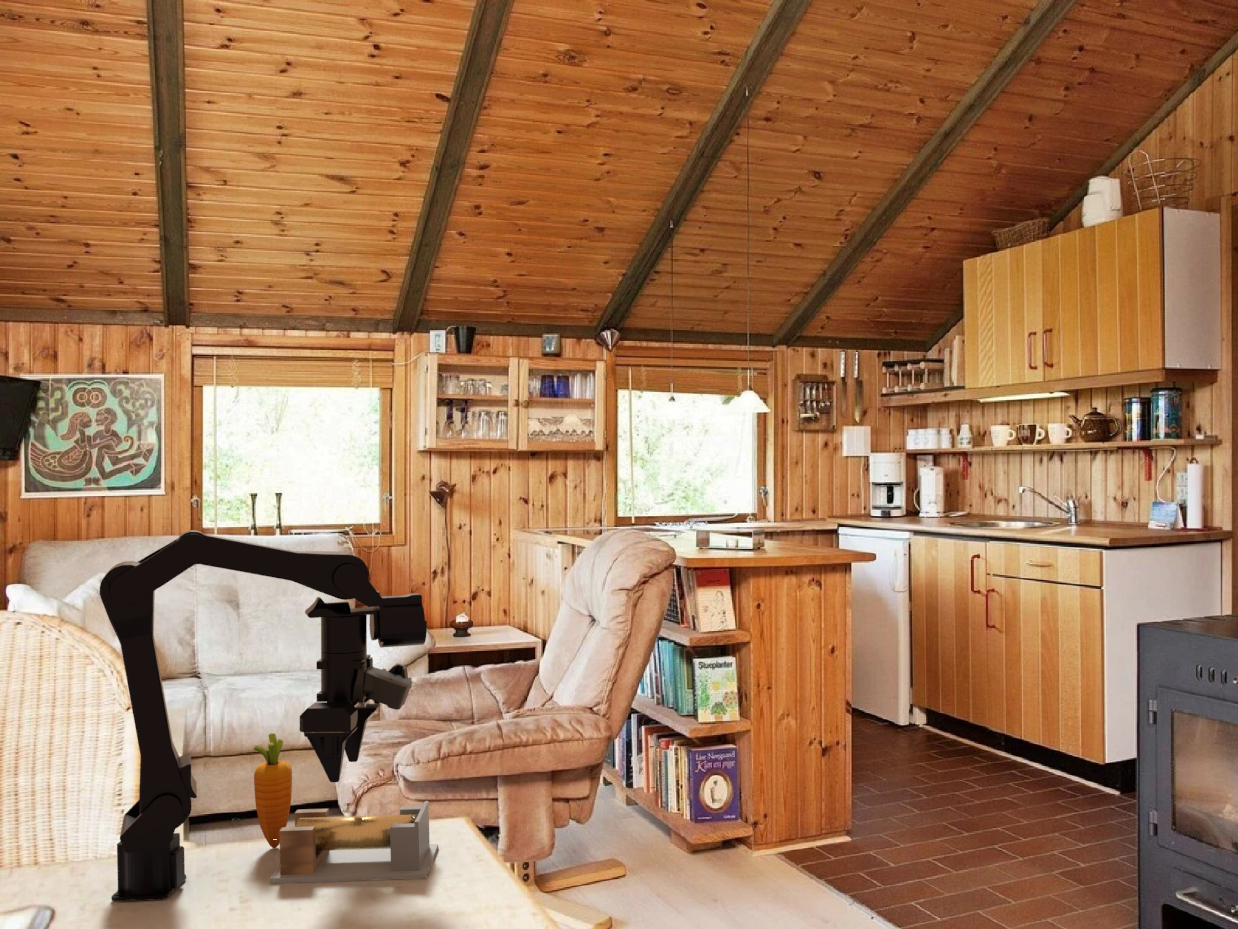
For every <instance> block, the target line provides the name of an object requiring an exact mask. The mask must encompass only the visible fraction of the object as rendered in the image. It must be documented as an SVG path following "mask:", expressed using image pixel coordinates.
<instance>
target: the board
mask: <svg viewBox="0 0 1238 929" xmlns="http://www.w3.org/2000/svg"><path fill="white" fill-rule="evenodd" d="M429 845H430V847H429V849H428V852H427V854H426V856H425V859H424V861H423V864H422V866H421V868H420V871H391V849H361V850H329V851H328V853H327V854H326V856H325V857H324V859H323V860H322V862H321V863H320V865H319V866H318V868H317V869H316V871H315V872H314V873H313V874H296V875H280V865H279V866H278V867H277V868H276V869H275V871H274V872H273V874H272V875H271V876H270V877H269V884H289V883H291V884H292V883H293V884H294V883H295V884H296V883H319V882H320V883H325V882H326V883H327V882H351V881H352V882H357V881H385V880H386V881H387V880H388V881H389V880H391V881H392V880H413V879H414V880H416V879H417V880H419V879H428V876H429V873H430V872H431V868H432V865H433V863H434V861H435V858H436V856H437V853H438V850H439V843H429Z"/></svg>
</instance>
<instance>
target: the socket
mask: <svg viewBox="0 0 1238 929" xmlns="http://www.w3.org/2000/svg"><path fill="white" fill-rule="evenodd" d="M429 806H430V804H429V800H425V801H424V802H423V804H422V805H408V806H407V805H406V806H403V805H402V806H401V807H400V808H399V815H415V814H418V816H417V818H416V820H415V822H414V823H406V824H392V825H391V827H390V849H391V871H420V868H421V866H422V864H423V861H424V859H425V856H426V854H427V852H428V849H429V847H430V845H429V844H430V810H429V809H430V807H429Z"/></svg>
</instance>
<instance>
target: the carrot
mask: <svg viewBox="0 0 1238 929" xmlns="http://www.w3.org/2000/svg"><path fill="white" fill-rule="evenodd" d="M267 737H268V740H269V743H268V748H266V750H265V748H264V747H263V746H260V745H257V744H256V745H254V746H253V751H256V752H259V753H260V754H261V755H262V756H263V757H264V760H265V761H264V762H262V763H260V764H258V765H257V767H256V768H255V771H254V774H253V786H254V787H253V788H254V801H255V809H256V813H257V818H258V819H257V820H258V823H259V827H260V829H261V831H262V833H263V837H264V838H265V840H266V841H267V843H268V845H269V846H270V847H271V848H272V849H277V847H279V846H280V835H279V831H280V830H281V829H282V827H287V825H288V822H289V821H288V820H289V817H290V812H291V811H290V810H291V803H292V802H291V801H292V792H293V785H292V784H293V783H292V782H293V767H292V765H291V764H290V763H289V762H287V761H283V760H279V756H280V754H281V751H282V749H283V748H282V747H283V745H284V740H283V739H281V738H277V735H276V734H275V733H273V732H270V733H269V734H268V736H267ZM273 839H277V840H273Z"/></svg>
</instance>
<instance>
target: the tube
mask: <svg viewBox="0 0 1238 929" xmlns="http://www.w3.org/2000/svg"><path fill="white" fill-rule="evenodd" d="M417 816H418V814H415V815H400V814H393V815H392V814H386V815H384V814H383V815H382V814H381V815H358V816H329V817H317V818H299V819H298V821H297V824H296V827H309V826H315V848H316V851H329V850H361V849H390V827H391V825H392V824H406V823H414V822H415V820H416V818H417Z"/></svg>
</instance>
